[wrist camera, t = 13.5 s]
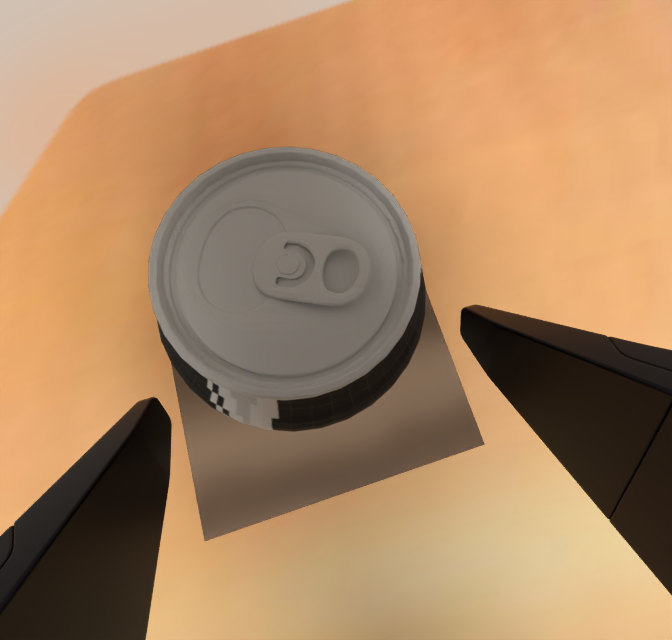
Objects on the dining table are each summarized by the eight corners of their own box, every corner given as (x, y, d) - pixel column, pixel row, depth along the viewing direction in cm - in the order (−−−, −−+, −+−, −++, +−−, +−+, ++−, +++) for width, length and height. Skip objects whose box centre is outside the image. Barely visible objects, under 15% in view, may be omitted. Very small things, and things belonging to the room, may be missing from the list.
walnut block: (459, 437, 19) (484, 444, 16) (223, 517, 18) (204, 541, 15) (383, 230, 22) (393, 205, 19) (176, 283, 21) (152, 263, 18)
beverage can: (354, 422, 16) (441, 477, 5) (241, 401, 16) (46, 404, 5) (371, 313, 18) (471, 146, 6) (267, 293, 18) (167, 89, 6)
